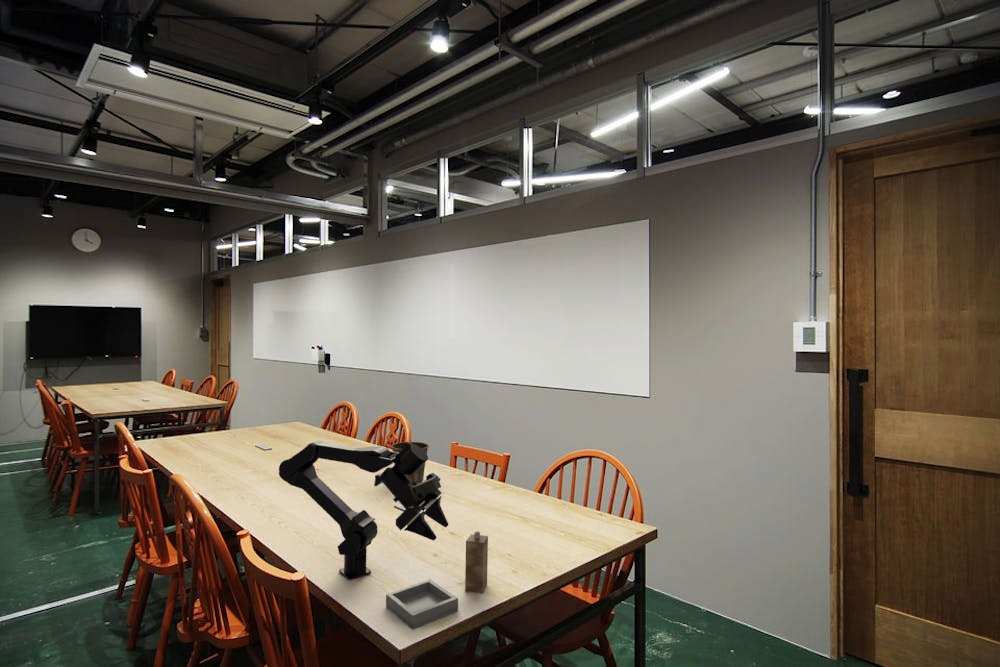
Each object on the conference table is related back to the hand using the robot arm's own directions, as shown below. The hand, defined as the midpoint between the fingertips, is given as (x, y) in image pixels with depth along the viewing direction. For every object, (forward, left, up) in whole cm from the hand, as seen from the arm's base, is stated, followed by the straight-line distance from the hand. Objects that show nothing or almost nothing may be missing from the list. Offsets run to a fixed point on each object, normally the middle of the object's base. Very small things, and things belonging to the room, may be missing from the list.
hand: (441, 532), depth 131 cm
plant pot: (-86, +42, -13) cm, 97 cm away
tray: (+8, -10, -13) cm, 18 cm away
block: (+8, +6, -13) cm, 16 cm away
